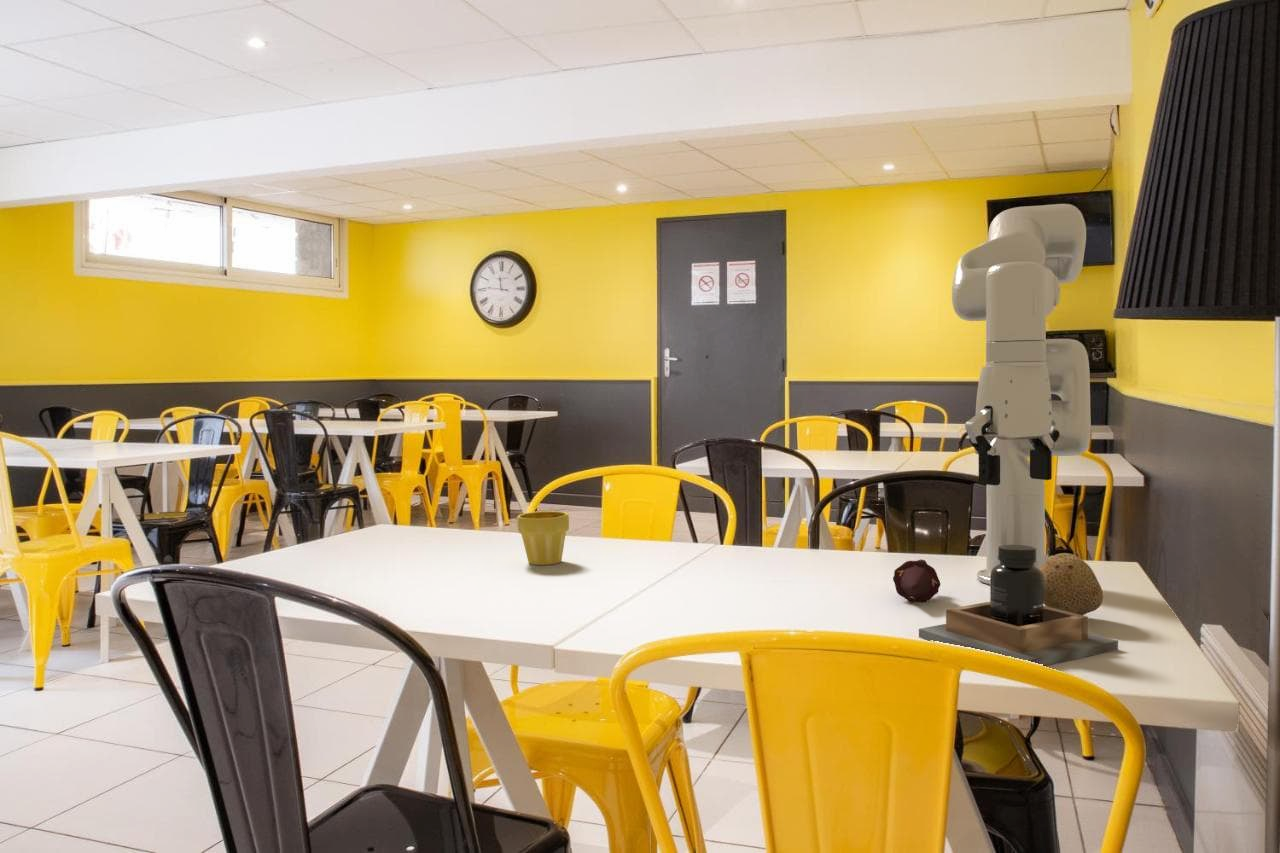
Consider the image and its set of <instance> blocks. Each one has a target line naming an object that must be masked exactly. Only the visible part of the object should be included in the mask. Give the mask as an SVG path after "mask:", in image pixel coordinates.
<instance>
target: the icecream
mask: <svg viewBox="0 0 1280 853" xmlns="http://www.w3.org/2000/svg"><path fill="white" fill-rule="evenodd" d="M892 580H893V583H894V587H895V591H896V593H897V594H898V595H899V596H901V597H902V598H903V599H905V600H907V601H908V602H910V603H927V602H929V601H930V600H931V599H932V598H933V597H934V596H936V595H937V594H938V593H939V590H940V587H941V582H940V579H939V576H938V573H937V572H936V569H935V568H934V567H933V566H931V565H930V564H928V562H927V561H926V560H925V559H922V558H921V559H918V560H907V561H905V562H904V563H902V564H901V565H900V566H898V567H897V568H896V569H895V570H894V573H893V576H892Z"/></svg>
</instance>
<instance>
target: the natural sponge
mask: <svg viewBox="0 0 1280 853" xmlns="http://www.w3.org/2000/svg"><path fill="white" fill-rule="evenodd" d="M1051 556H1052V557H1051V558H1049V559H1048V560H1047V561H1045V562H1044V563H1043V564H1042V566H1041V567H1040V568H1039V569H1040V570H1041V571H1042V573H1043V576H1044V601H1043V605H1044V606H1047V607H1051V608H1055V609H1059V610H1063V611H1067V612H1071V613H1075V614H1079V615H1083V616H1086V614H1088V613H1091V612H1092V613H1093V612H1094V611H1097V610H1098V608H1100V606H1102V603H1103V600H1104V593H1103V589H1102V587H1101V584H1100V582H1099V581H1098V578H1097V576H1096V575H1095V573H1094V570H1093V569H1092V568H1091V566H1090V565H1089V564H1088V563H1087V562H1086V561H1085V560H1083V559H1082V558H1081V557H1079V556H1077V555H1075V554H1073V553H1068V552H1061V553H1056V554H1055V555H1051Z"/></svg>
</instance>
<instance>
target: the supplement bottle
mask: <svg viewBox="0 0 1280 853" xmlns="http://www.w3.org/2000/svg"><path fill="white" fill-rule="evenodd" d="M998 560H999V561H1000V564H998V565H996V566H995V567H994V568H993V569H992V571H991V576H990V584H989V585H990V587H989V588H990V589H989V591H990V593H989V599H990V600H989V602H990V619H993V620H997V621H1000V622H1004V623H1007V624H1011V625H1014V626H1018V627H1020V626H1025V625H1030V624H1035V623H1040V622H1043V606H1044V603H1043V601H1044V576H1043V573H1042V571H1041V570H1040V569H1039V568H1037V567H1036V566H1034V563H1035V562H1036V548H1034V547H1030V546H1024V545H1002V546H999V548H998Z"/></svg>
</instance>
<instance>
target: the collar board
mask: <svg viewBox="0 0 1280 853" xmlns="http://www.w3.org/2000/svg"><path fill="white" fill-rule="evenodd" d="M918 638H920V639H923V640H926V639H927V640H926V641H929V640H933V641H939V642H943V643H949V644H954V645H960V646H964V647H971V648H975V649H980V650H985V651H990V652H994V653H998V654H1002V655H1005V656H1011V657H1014V658H1019V659H1023V660H1028V661H1031V662H1035V663H1038V664H1043V665H1046V666H1049V665H1055V664H1059V663H1063V662H1068V661H1072V660H1077V659H1081V658H1085V657H1090V656H1096V655H1100V654H1104V653H1108V652H1113V651H1117V650H1119V640H1117V639H1113V638H1109V637H1107V636H1103V635H1099V634H1098V635H1097V634H1094V633H1091V632H1089V617H1088V616H1086V615H1079V614H1075V613H1071V612H1067V611H1063V610H1059V609H1055V608H1051V607H1047V606H1045V605H1043V622H1040V623H1035V624H1030V625H1025V626H1020V627H1018V626H1014V625H1011V624H1007V623H1004V622H1000V621H997V620H993V619H990V601H985V602H980V603H973V604H969V605H968V604H967V605H963V606H956V607H952V608H946V609H945V623H944V624H943V623H942V624H938V625H937V624H936V625H932V626H927V627H923V628H922V627H921V628H918Z"/></svg>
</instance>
